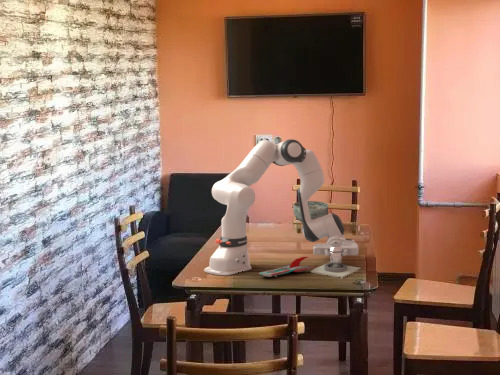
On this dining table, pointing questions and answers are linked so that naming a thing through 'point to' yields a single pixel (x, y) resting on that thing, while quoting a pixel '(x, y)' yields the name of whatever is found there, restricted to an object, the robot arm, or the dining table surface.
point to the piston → (335, 256)
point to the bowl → (312, 210)
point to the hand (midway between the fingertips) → (335, 254)
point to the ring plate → (336, 274)
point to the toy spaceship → (287, 268)
